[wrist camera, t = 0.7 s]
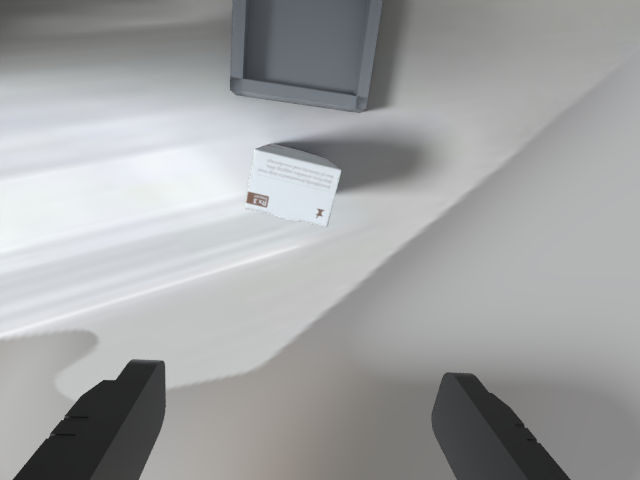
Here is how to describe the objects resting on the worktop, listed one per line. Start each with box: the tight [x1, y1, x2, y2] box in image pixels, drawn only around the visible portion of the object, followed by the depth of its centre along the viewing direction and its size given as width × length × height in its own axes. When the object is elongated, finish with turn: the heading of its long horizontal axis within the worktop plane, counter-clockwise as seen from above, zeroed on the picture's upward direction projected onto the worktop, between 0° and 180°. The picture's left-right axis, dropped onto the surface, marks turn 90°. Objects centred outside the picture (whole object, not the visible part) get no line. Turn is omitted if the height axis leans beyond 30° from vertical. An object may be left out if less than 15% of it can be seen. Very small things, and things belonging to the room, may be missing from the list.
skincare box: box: [244, 144, 342, 227], centre depth 26 cm, size 6×4×12 cm
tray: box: [230, 0, 383, 113], centre depth 27 cm, size 12×11×3 cm
